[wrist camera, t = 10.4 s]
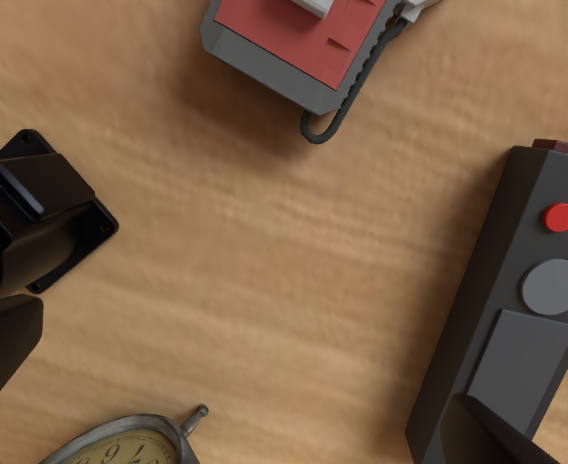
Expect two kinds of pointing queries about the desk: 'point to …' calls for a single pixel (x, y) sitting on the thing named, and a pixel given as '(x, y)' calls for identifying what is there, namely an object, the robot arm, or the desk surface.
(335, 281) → the desk surface
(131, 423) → the alarm clock
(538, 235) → the remote
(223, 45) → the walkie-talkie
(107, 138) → the desk surface
